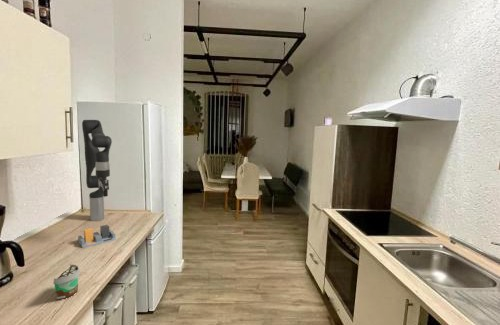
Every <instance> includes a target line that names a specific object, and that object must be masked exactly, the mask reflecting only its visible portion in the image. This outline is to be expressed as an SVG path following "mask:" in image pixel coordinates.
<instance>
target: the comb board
mask: <svg viewBox="0 0 500 325" xmlns="http://www.w3.org/2000/svg"><path fill="white" fill-rule="evenodd" d="M116 240H117V238H116V233H115V232H114V231H113V230H112V229H111V228H109V237H108V238H104V239H102V236H101V233H99V232H98V231H95V232H93V241H91V242H87V243H86V242H85V240H84V237H83V236H82V234H81V235H78V236H77V242H78V243H79V245H80V246H81V247H82V249H84V248H89V247H93V246H97V245H101V244H105V243H110V242H114V241H116Z"/></svg>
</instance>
